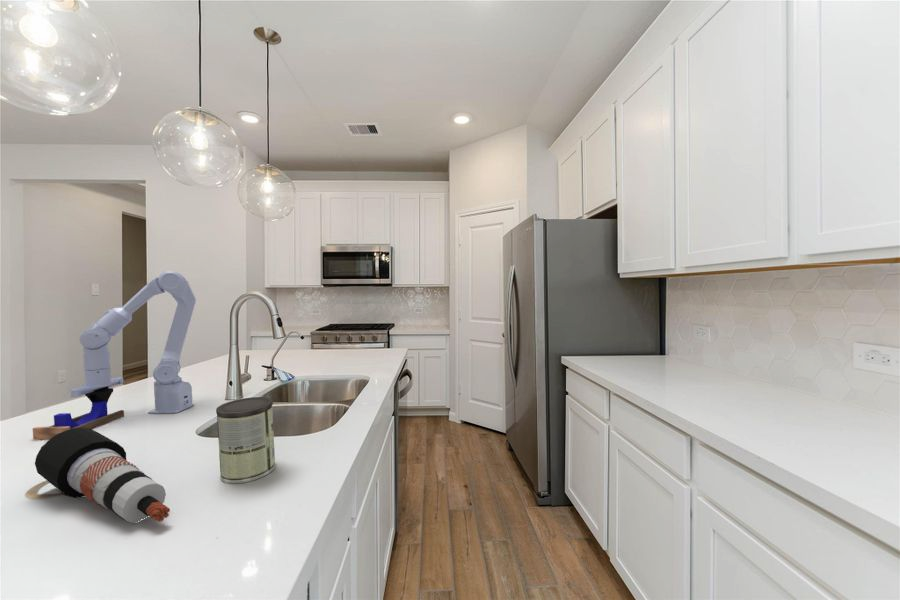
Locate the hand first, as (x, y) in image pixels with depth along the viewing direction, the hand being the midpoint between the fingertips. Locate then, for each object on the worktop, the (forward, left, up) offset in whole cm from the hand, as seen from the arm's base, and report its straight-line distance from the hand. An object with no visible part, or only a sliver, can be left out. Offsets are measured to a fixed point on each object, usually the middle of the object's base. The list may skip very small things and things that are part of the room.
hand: (100, 413), depth 114 cm
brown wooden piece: (0, +5, -2) cm, 5 cm away
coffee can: (-63, +33, -2) cm, 71 cm away
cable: (-44, +44, -2) cm, 63 cm away
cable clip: (-1, +7, -2) cm, 8 cm away
